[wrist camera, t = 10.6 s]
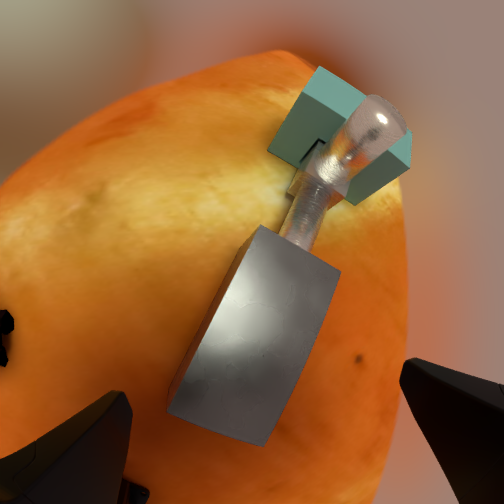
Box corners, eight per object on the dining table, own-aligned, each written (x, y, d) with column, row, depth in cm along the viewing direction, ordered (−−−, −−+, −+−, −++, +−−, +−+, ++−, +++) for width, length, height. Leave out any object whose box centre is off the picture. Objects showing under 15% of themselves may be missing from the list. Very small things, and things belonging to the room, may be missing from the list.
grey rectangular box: (242, 419, 18) (263, 447, 13) (168, 389, 17) (166, 412, 12) (305, 283, 22) (341, 271, 17) (240, 247, 21) (260, 224, 16)
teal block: (354, 205, 25) (409, 168, 18) (267, 150, 24) (301, 91, 16) (364, 171, 27) (412, 132, 19) (285, 120, 26) (319, 65, 18)
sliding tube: (262, 356, 18) (350, 387, 8) (216, 335, 18) (264, 354, 8) (341, 162, 25) (409, 97, 15) (310, 142, 24) (371, 67, 14)
